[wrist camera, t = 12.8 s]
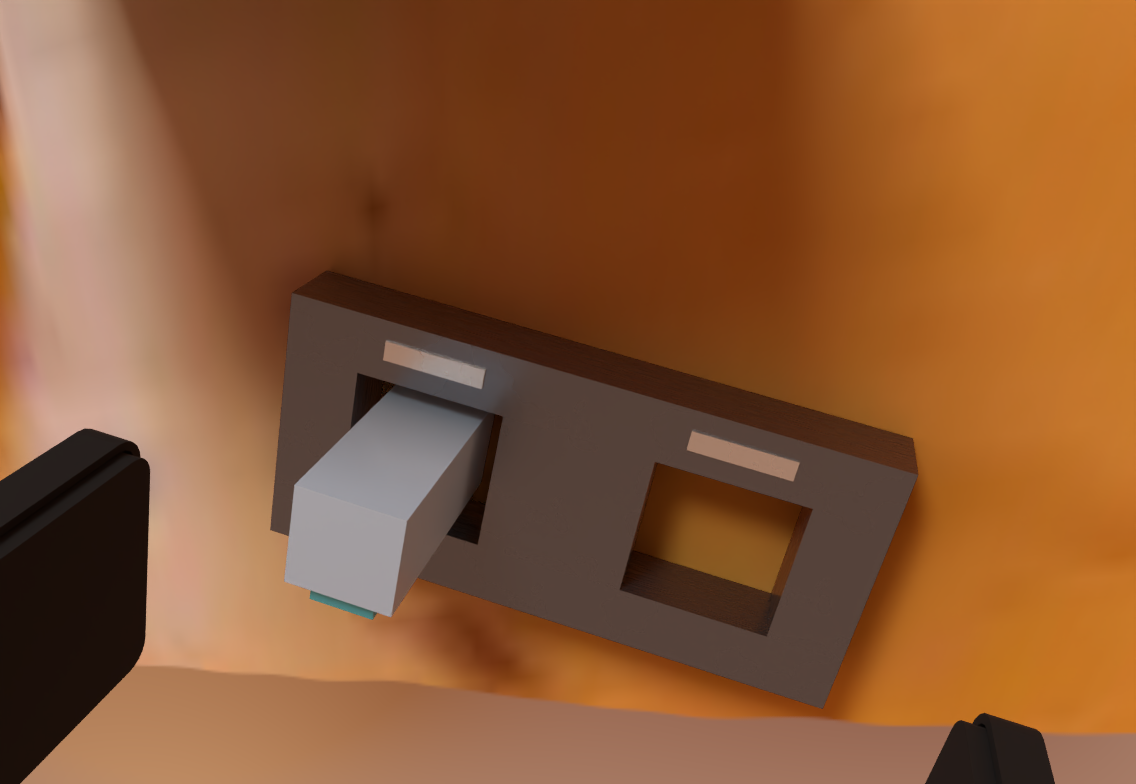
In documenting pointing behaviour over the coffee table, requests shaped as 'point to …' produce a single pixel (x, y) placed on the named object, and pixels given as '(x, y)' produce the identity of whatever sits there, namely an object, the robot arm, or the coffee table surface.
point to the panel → (608, 481)
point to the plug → (385, 500)
